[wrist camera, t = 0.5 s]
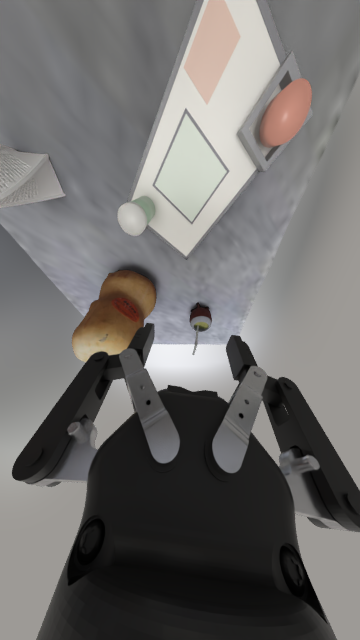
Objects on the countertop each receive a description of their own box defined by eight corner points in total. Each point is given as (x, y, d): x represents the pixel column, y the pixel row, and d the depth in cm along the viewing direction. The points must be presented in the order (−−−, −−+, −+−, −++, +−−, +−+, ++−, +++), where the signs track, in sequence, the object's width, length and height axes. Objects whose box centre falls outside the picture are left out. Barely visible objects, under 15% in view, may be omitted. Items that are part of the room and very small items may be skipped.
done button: (253, 127, 17) (261, 121, 15) (287, 76, 15) (302, 61, 13) (268, 157, 19) (278, 155, 17) (301, 116, 16) (317, 108, 14)
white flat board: (125, 208, 27) (119, 211, 25) (229, -88, 11) (238, -151, 9) (186, 258, 34) (186, 264, 31) (302, 115, 18) (318, 107, 16)
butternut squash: (168, 282, 39) (152, 364, 22) (146, 306, 47) (121, 380, 30) (123, 248, 33) (54, 329, 16) (106, 283, 41) (48, 361, 24)
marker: (134, 209, 26) (114, 223, 19) (142, 188, 24) (123, 195, 17) (151, 224, 28) (138, 241, 21) (160, 205, 26) (149, 218, 19)
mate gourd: (207, 299, 43) (213, 337, 33) (212, 315, 48) (217, 352, 38) (186, 304, 45) (184, 341, 35) (192, 319, 51) (192, 355, 41)
